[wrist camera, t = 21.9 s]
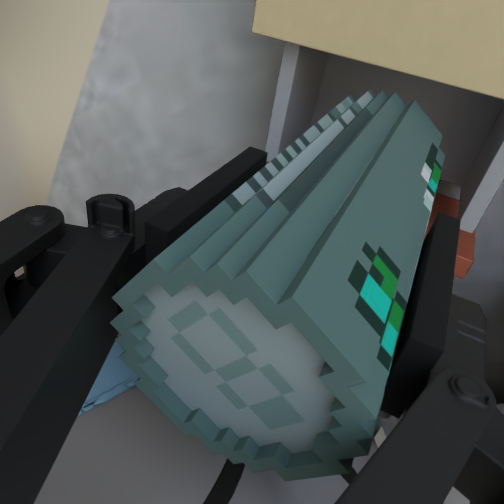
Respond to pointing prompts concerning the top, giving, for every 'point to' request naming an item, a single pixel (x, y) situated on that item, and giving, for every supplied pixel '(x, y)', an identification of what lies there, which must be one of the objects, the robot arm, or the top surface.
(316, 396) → the can
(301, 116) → the drawer
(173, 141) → the top surface
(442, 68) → the beige cardboard box
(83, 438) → the robot arm
